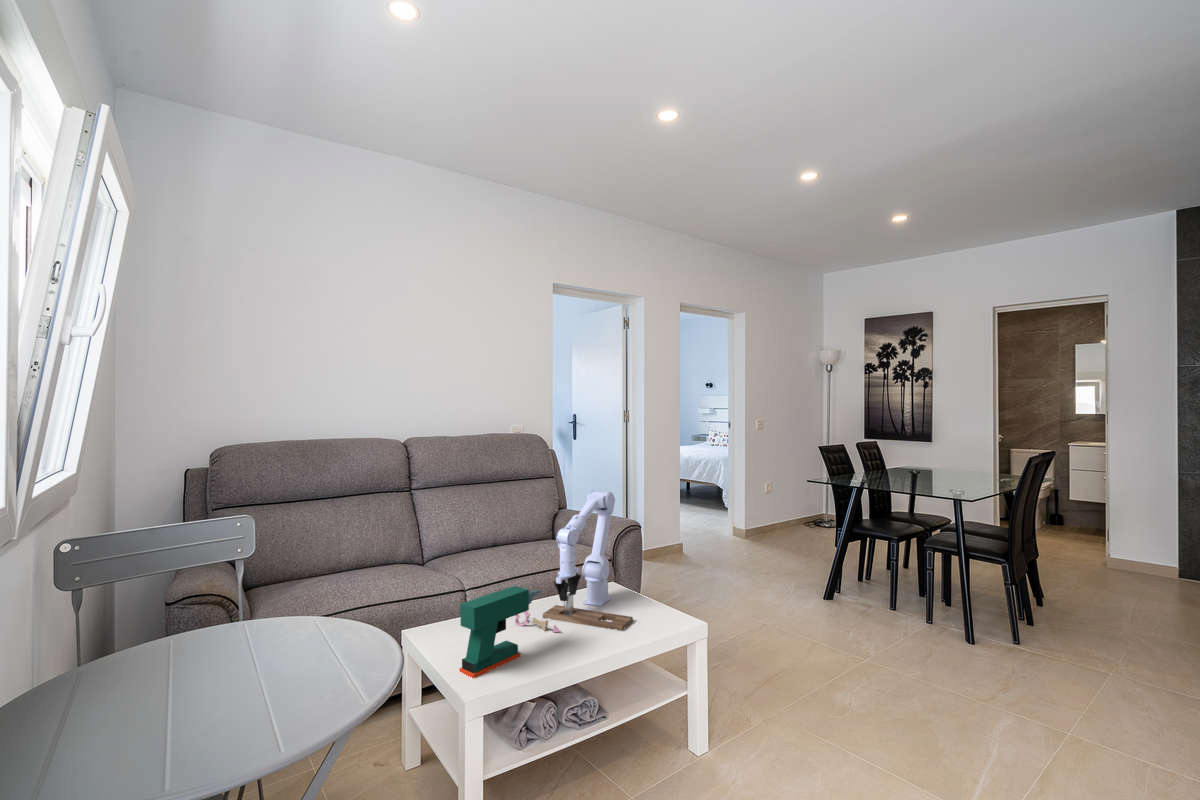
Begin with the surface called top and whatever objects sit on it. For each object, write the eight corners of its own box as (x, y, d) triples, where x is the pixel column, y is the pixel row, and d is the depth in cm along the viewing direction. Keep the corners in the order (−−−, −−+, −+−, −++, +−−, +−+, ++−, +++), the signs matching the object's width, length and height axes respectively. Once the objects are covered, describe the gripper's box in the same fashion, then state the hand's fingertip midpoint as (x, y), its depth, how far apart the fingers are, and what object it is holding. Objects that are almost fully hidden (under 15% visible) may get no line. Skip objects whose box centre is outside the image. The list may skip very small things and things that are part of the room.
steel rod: (567, 614, 216) (567, 592, 216) (575, 615, 214) (575, 594, 214) (562, 617, 213) (561, 595, 213) (570, 618, 211) (569, 597, 211)
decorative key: (559, 642, 196) (512, 623, 206) (560, 641, 198) (514, 622, 207) (561, 623, 196) (515, 605, 205) (563, 622, 197) (517, 604, 207)
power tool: (535, 637, 194) (535, 578, 194) (550, 642, 190) (549, 582, 190) (458, 671, 169) (457, 603, 170) (473, 678, 165) (472, 608, 165)
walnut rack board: (556, 608, 221) (555, 605, 221) (632, 621, 208) (632, 616, 208) (542, 617, 212) (542, 613, 212) (622, 630, 199) (622, 626, 199)
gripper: (567, 555, 222) (567, 590, 222) (548, 564, 209) (549, 602, 209) (583, 557, 219) (584, 592, 219) (565, 566, 206) (566, 604, 206)
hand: (568, 597), depth 214 cm, fingers open, 7 cm apart
